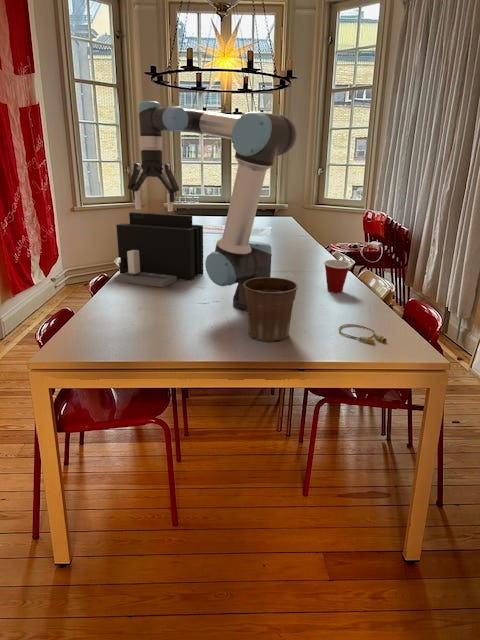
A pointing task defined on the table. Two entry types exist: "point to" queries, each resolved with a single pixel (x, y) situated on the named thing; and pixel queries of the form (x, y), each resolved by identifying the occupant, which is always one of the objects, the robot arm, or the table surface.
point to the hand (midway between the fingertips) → (154, 210)
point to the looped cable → (365, 339)
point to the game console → (162, 244)
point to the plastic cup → (336, 274)
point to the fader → (133, 262)
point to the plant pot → (269, 307)
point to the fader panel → (146, 279)
